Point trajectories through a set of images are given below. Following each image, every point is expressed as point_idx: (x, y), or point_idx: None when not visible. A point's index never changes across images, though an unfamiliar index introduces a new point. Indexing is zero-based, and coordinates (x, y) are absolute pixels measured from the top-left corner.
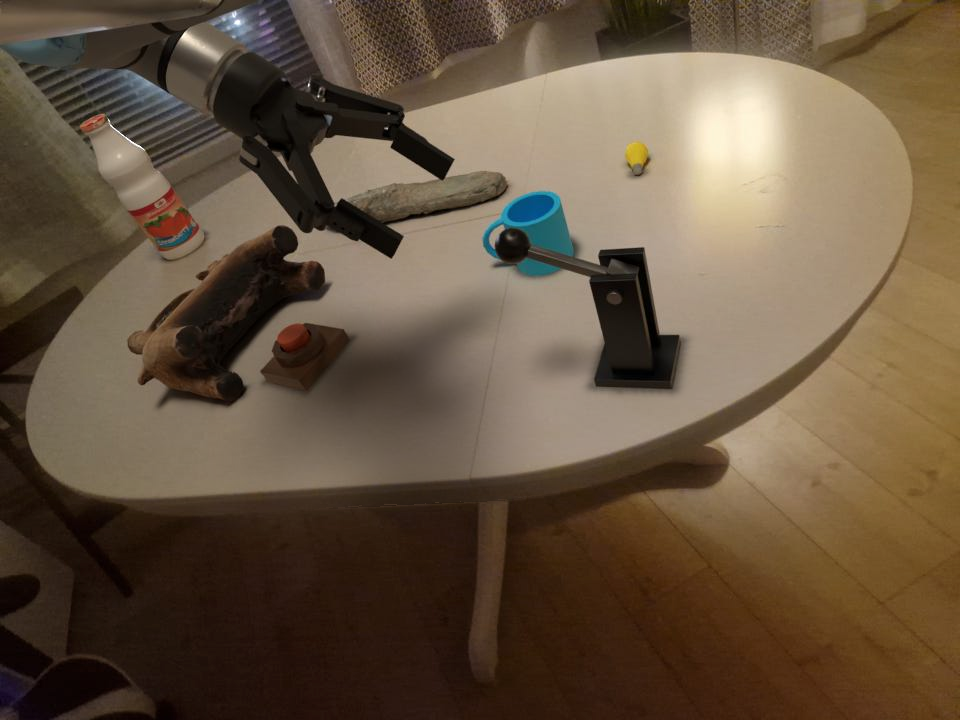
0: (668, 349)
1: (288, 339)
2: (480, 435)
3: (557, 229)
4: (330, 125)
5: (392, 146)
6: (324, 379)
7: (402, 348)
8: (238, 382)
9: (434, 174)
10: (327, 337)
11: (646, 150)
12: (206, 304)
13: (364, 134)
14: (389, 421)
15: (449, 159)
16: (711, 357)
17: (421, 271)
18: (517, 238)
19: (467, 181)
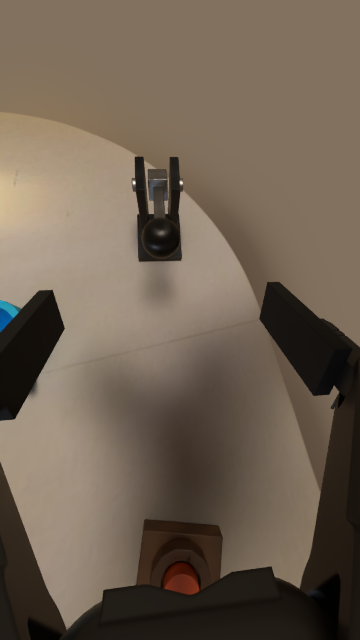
0: (151, 218)
1: (192, 590)
2: (232, 324)
3: (18, 307)
4: (46, 621)
5: (14, 410)
6: (200, 514)
7: (153, 441)
8: None
9: (57, 337)
10: (158, 545)
11: None
12: None
13: (3, 483)
14: (234, 405)
15: (45, 293)
16: (150, 201)
17: (28, 488)
18: (167, 219)
19: None
